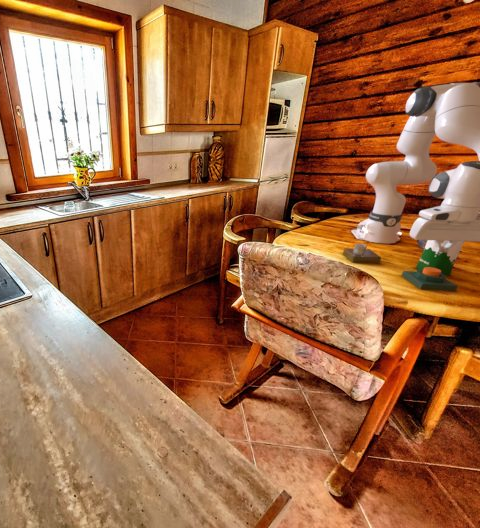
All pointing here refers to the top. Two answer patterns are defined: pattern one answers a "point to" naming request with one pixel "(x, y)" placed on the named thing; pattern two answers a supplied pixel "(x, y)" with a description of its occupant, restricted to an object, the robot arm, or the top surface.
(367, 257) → the panel
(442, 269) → the milk carton
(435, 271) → the button
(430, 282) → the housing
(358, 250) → the knob
